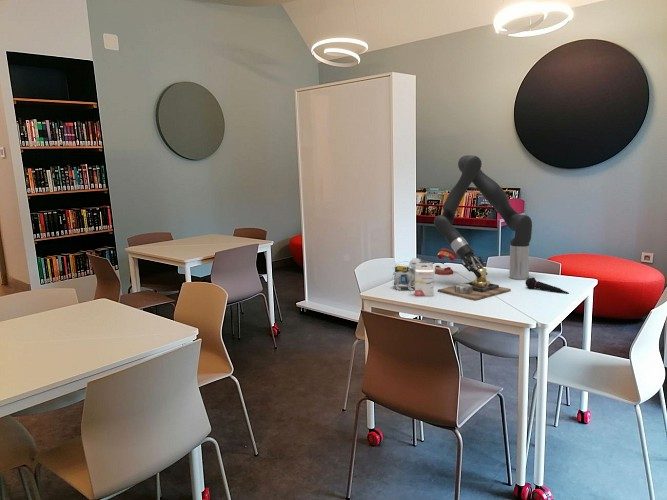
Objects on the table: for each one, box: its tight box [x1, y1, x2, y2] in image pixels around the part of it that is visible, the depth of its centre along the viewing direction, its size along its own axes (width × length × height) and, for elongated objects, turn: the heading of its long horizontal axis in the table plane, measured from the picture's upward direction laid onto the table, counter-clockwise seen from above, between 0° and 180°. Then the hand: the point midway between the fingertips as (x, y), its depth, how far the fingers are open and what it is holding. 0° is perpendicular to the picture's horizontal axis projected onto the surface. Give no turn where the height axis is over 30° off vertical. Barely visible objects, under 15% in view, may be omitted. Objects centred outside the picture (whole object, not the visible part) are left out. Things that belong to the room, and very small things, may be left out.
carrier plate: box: [437, 280, 512, 302], centre depth 234 cm, size 26×22×4 cm
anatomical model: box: [434, 247, 458, 276], centre depth 275 cm, size 10×8×15 cm
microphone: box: [524, 277, 570, 295], centre depth 232 cm, size 6×6×20 cm
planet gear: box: [472, 267, 490, 286], centre depth 235 cm, size 8×8×8 cm
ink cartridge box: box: [414, 262, 435, 297], centre depth 230 cm, size 9×5×15 cm, turn 84°
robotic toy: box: [391, 257, 427, 292], centre depth 243 cm, size 13×17×15 cm
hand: (482, 276), depth 234 cm, fingers closed on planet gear, 4 cm apart
